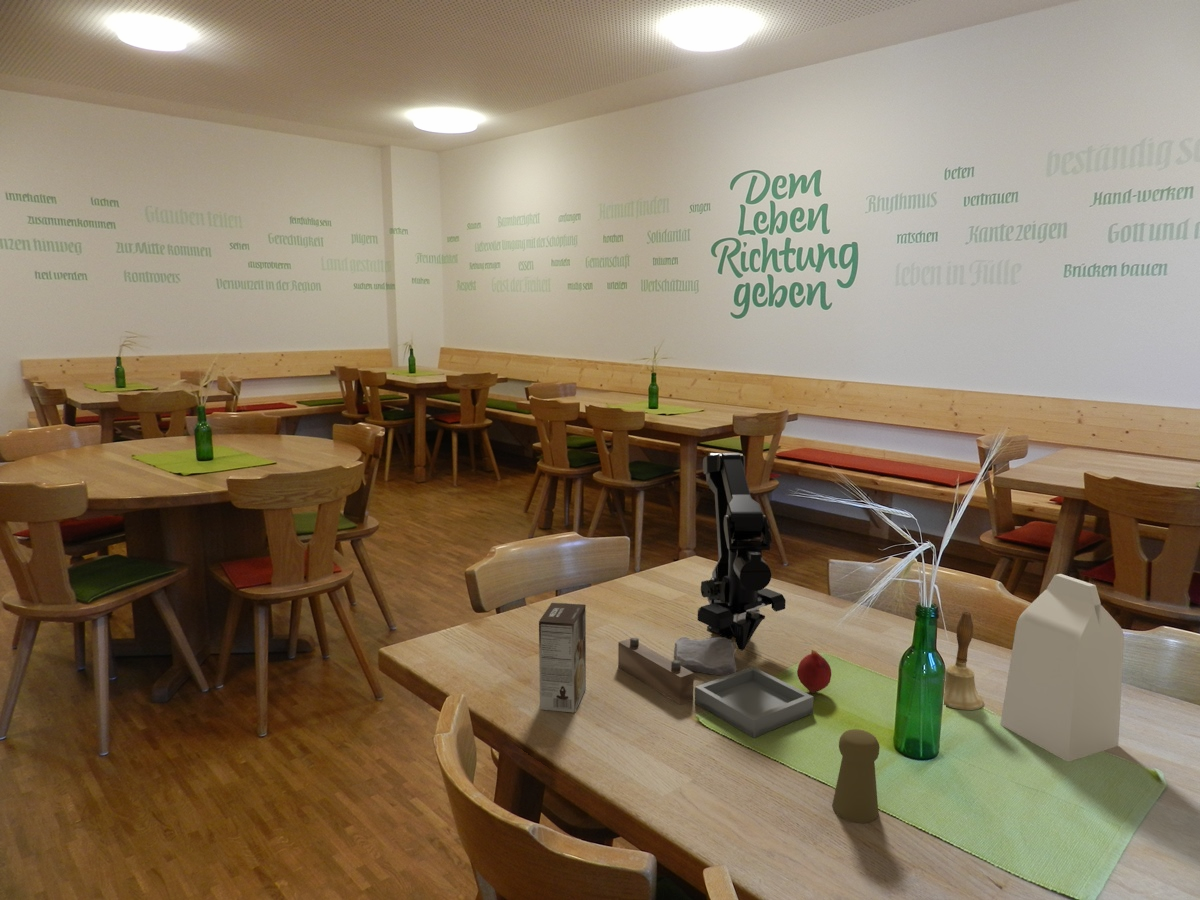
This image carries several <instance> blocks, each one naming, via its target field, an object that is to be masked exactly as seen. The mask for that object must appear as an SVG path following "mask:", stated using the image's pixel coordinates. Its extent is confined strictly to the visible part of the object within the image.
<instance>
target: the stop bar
mask: <svg viewBox="0 0 1200 900" xmlns="http://www.w3.org/2000/svg"><path fill="white" fill-rule="evenodd" d="M639 641H640V640H639V638H638V637H631V638H628V639H624V640H621V641H618V650H617V651H618V654H617V655H618V657H617V658H618V660H617V661H618V663H617V664H618V667H617V668H619V669H621V670H622V671H625V672H626V673H628V674H629V675H631V676H633V677H634V678H636V679H638V680H639V681H641V682H642V683H644V684H646V685H647V686H649V687H650V688H652V689H654V690H655V691H657V692H659V693H661V694H662V695H664V696H665V697H666V698H668V699H670V700H672V701H674V702H675V703H677V704H679V705H682V704H685V703H688V702H691V701H693V700H694V680H695V679H694V678H695V677H694V675H695V673H694V671H689V670H688V669H686V668H684V667H682V666H681V662H680V661H677V660H675V659H674V660H671V659H669V658H668V657H665V656H664V655H662V654H661V653H658V652H657V651H654V650H653V649H651V648H650V647H648V646H646V645H644V644H642V643H641V642H639Z"/></svg>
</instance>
